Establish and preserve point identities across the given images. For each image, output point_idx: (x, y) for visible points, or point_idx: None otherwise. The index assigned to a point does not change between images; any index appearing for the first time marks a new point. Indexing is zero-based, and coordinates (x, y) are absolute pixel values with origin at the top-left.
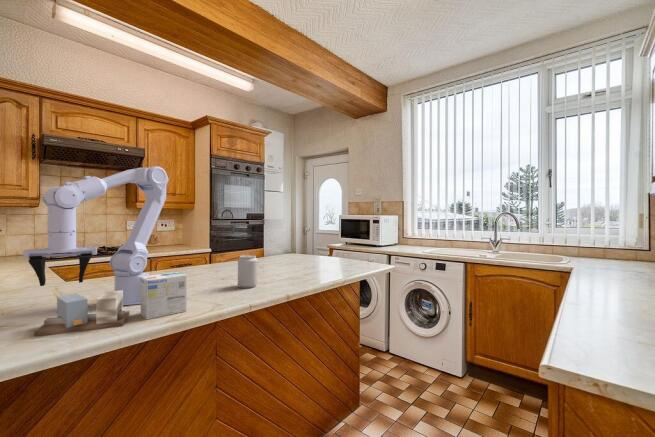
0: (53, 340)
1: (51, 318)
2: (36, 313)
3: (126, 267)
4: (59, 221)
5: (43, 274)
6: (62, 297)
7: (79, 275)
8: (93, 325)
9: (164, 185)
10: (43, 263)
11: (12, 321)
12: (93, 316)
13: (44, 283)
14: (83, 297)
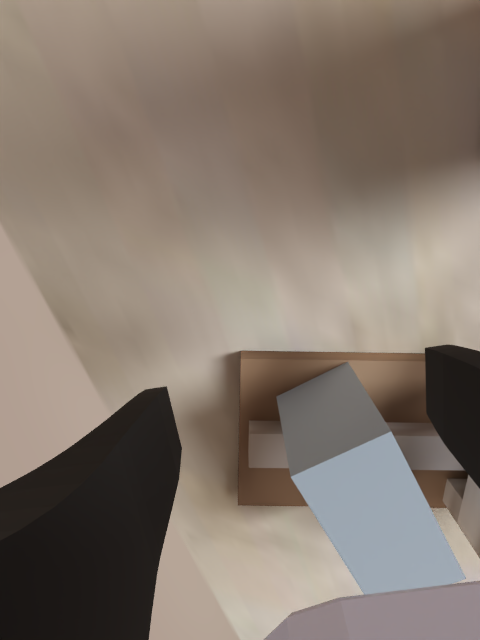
0: (315, 551)
1: (267, 443)
2: (92, 127)
3: None
4: None
5: (149, 496)
6: (327, 502)
7: (469, 471)
8: (431, 506)
9: None
10: (102, 615)
11: (46, 255)
12: (436, 467)
13: (171, 425)
14: (442, 541)
